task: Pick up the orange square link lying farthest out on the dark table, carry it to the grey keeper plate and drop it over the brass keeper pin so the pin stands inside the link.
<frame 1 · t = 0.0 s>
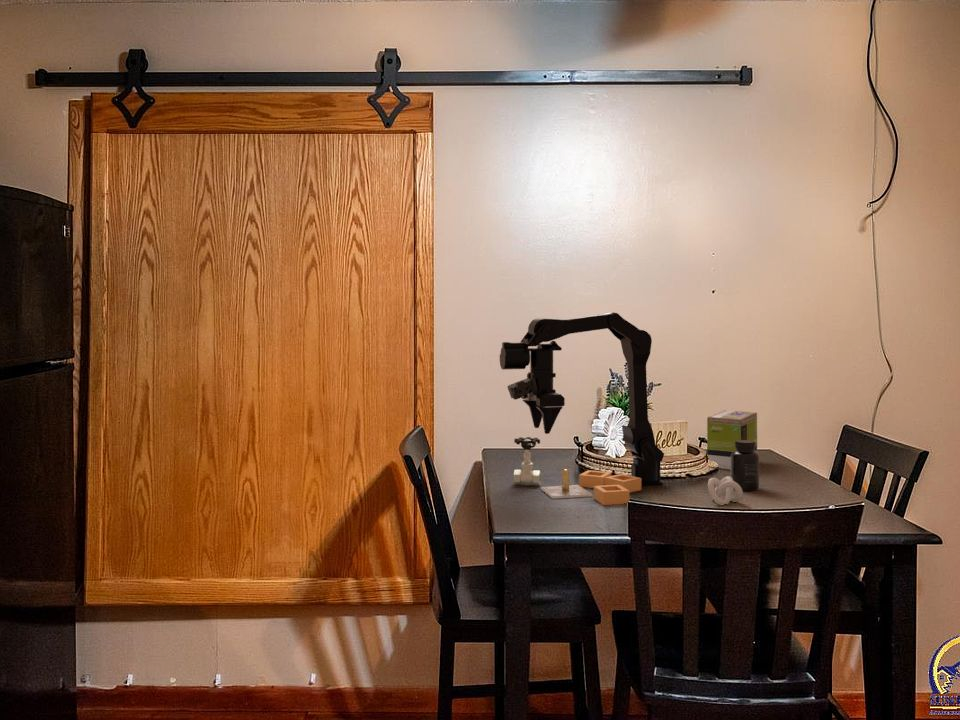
hand: (541, 430, 202), 15 cm above the table, tool pointing down, fingers open, 9 cm apart
chain link c: (595, 485, 206), on the table
knot: (723, 503, 188), on the table
valve: (527, 486, 206), on the table
tea box: (732, 465, 230), on the table
keeper: (565, 492, 198), on the table
supplement bottle: (744, 489, 202), on the table
chain link b: (622, 489, 201), on the table
end link: (611, 500, 190), on the table
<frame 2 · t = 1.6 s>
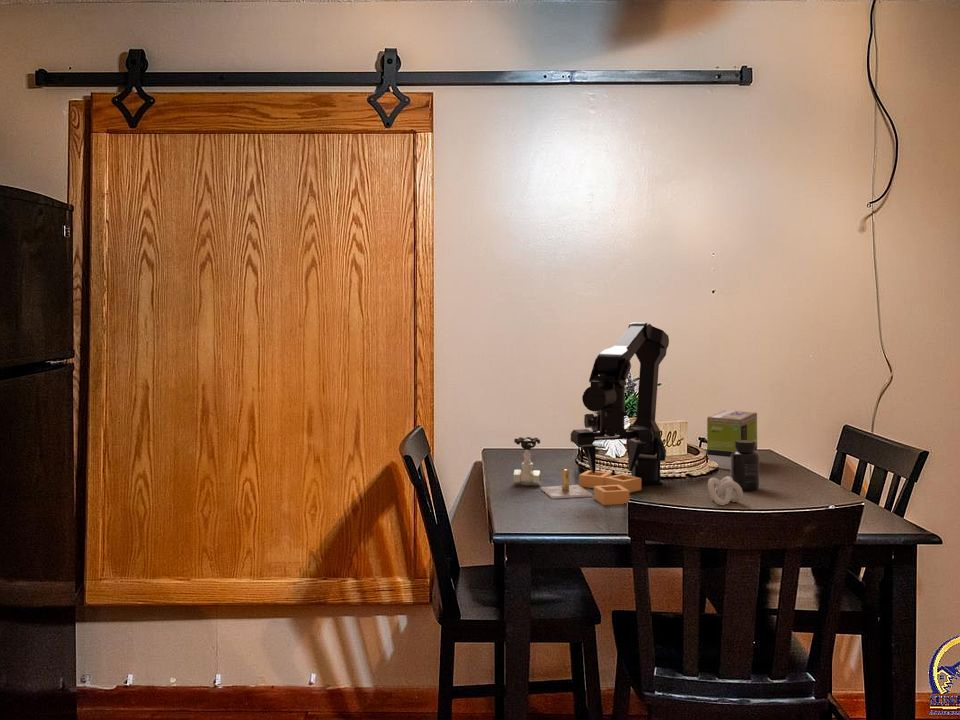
hand: (611, 472, 189), 7 cm above the table, tool pointing down, fingers open, 9 cm apart
nothing on the table moved.
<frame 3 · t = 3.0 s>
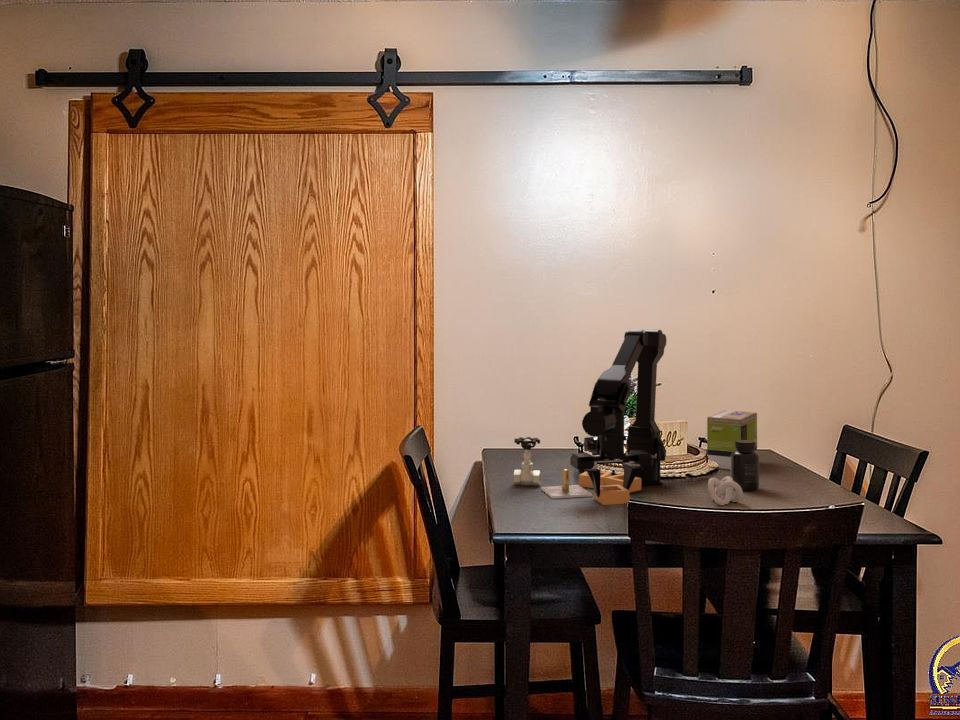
hand: (611, 495, 190), 1 cm above the table, tool pointing down, fingers closed on end link, 6 cm apart
end link: (611, 500, 190), on the table, touching gripper
everything else where it was.
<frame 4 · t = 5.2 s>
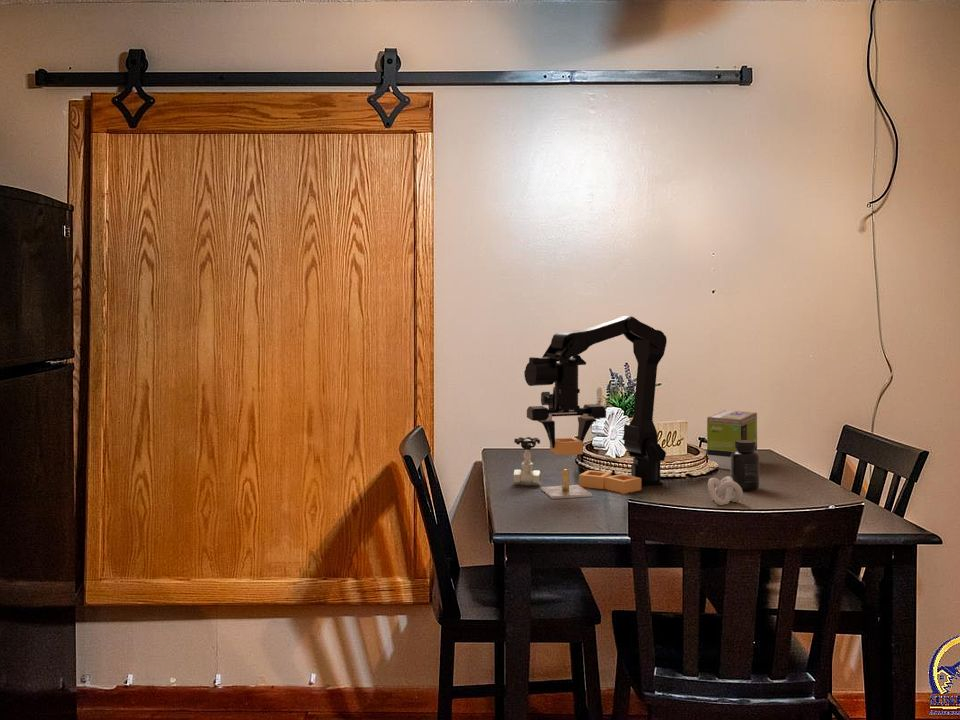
hand: (566, 447, 197), 11 cm above the table, tool pointing down, fingers closed on end link, 6 cm apart
end link: (566, 452, 197), point 10 cm above the table, touching gripper
everything else where it was.
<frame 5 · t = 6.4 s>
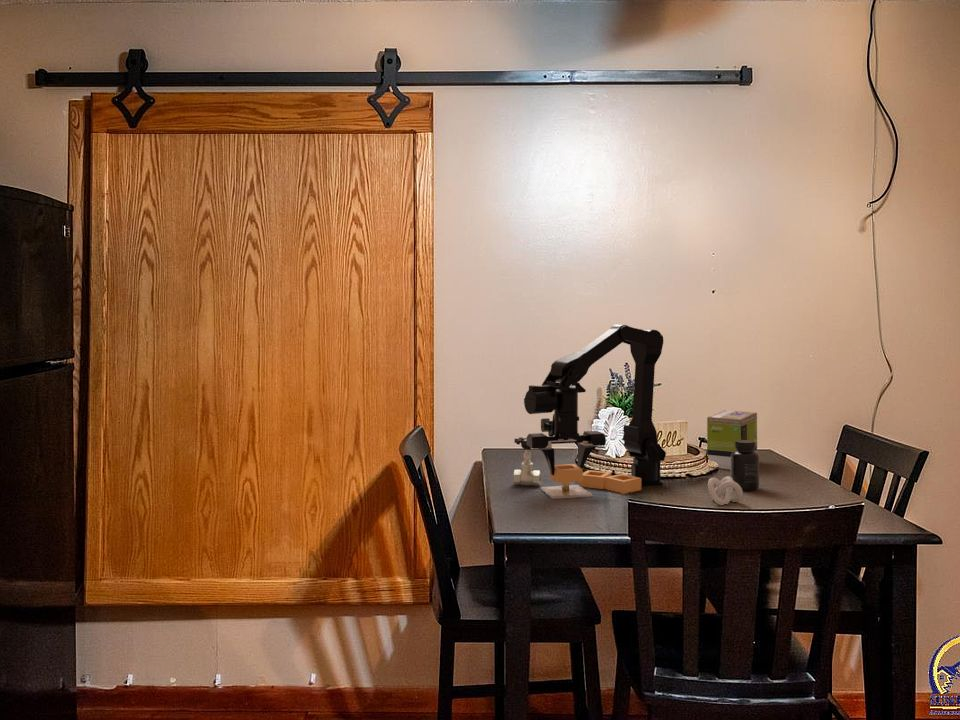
hand: (565, 474, 198), 5 cm above the table, tool pointing down, fingers closed on end link, 6 cm apart
end link: (565, 479, 198), point 3 cm above the table, touching gripper
everything else where it was.
when the fingers open (4 cm above the table, at t = 7.3 s): end link drops 3 cm, resting on keeper.
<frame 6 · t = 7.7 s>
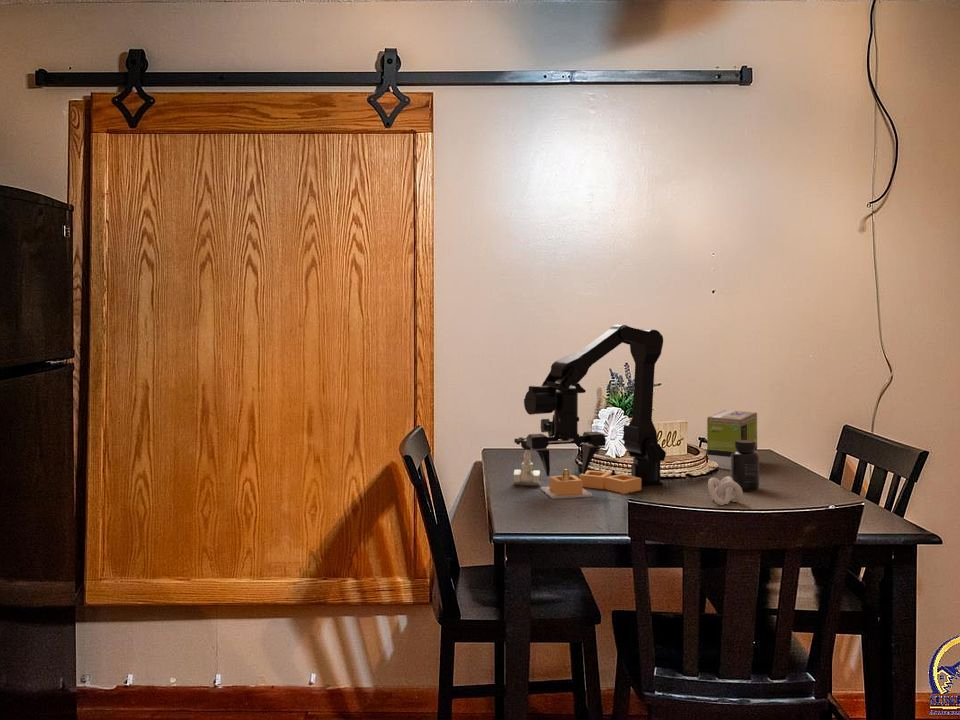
hand: (565, 474, 198), 4 cm above the table, tool pointing down, fingers open, 9 cm apart
end link: (565, 490, 198), point 1 cm above the table, touching keeper
everything else where it was.
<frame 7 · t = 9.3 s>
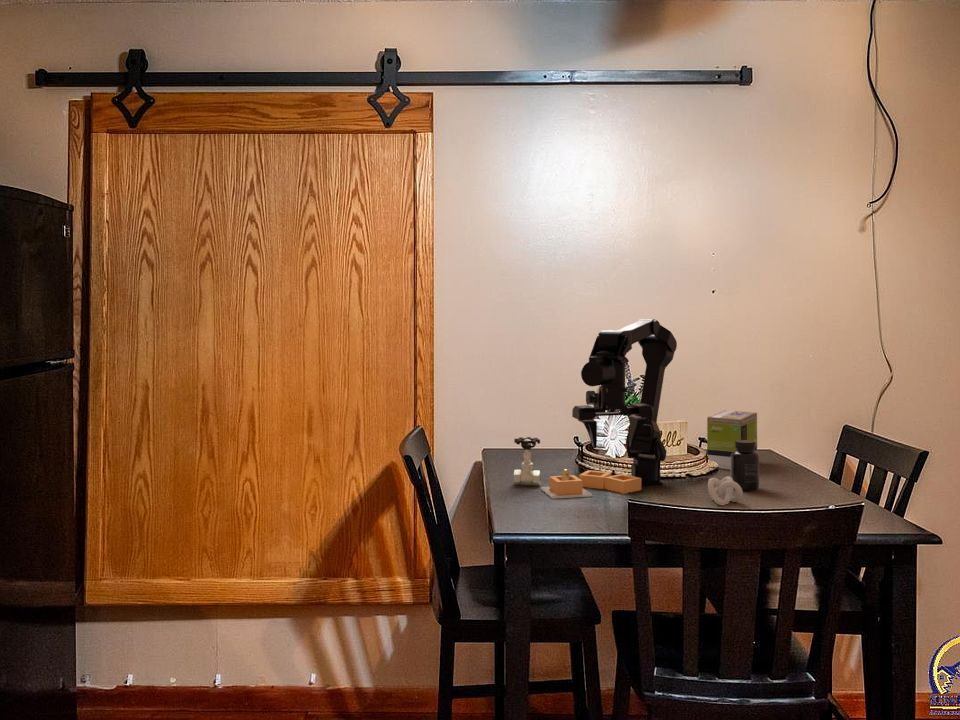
hand: (612, 447, 193), 12 cm above the table, tool pointing down, fingers open, 9 cm apart
nothing on the table moved.
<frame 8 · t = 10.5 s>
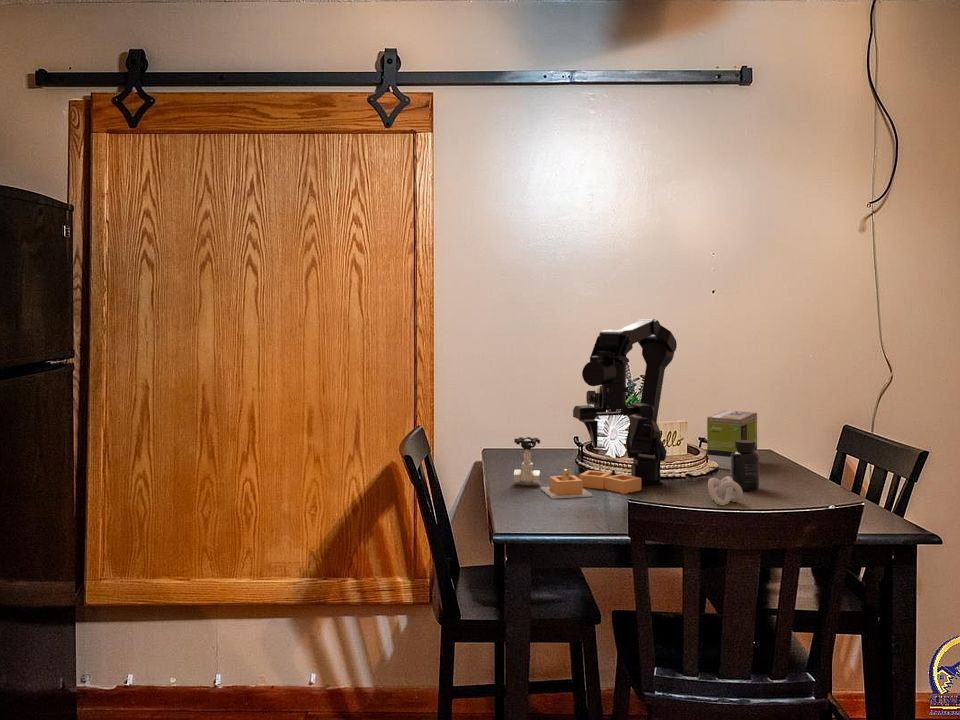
hand: (613, 447, 193), 12 cm above the table, tool pointing down, fingers open, 9 cm apart
nothing on the table moved.
at the end: end link 0.1 cm off-centre on the keeper, point 0.6 cm above the keeper's base; the gripper is holding nothing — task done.
